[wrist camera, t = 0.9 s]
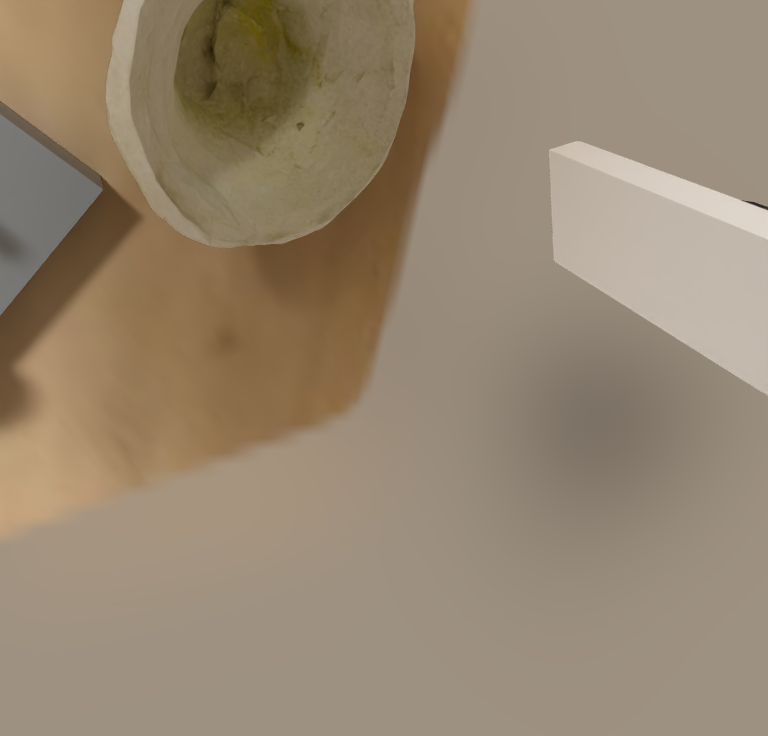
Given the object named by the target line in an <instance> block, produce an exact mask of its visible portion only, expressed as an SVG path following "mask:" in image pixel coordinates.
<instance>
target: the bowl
mask: <svg viewBox="0 0 768 736" xmlns="http://www.w3.org/2000/svg"><path fill="white" fill-rule="evenodd" d="M413 6H414V0H123V5H122V8H121V12H120V15H119V18H118V22H117V25H116V28H115V31H114V34H113V37H112V49H113V52H112V56H111V60H110V64H109V68H108V74H107V81H106V109H107V118H108V126H109V129H110V132H111V135H112V138H113V140H114V142H115V144H116V146H117V148H118V149H119V151H120V153H121V155H122V157H123V159H124V161H125V163H126V165H127V167H128V168H129V170H130V172H131V174H132V175H133V176H134V178H135V179H136V181H137V183H138V185H139V187H140V189H141V191H142V193H143V194H144V196H145V198H146V200H147V202H148V204H149V205H150V207H151V209H152V210H153V211H154V212H155V213H156V214H157V215H158V216H159V217H160V218H162V219H165V220H166V222H167V223H168V224H169V225H170V226H171V227H172V228H173V229H174V230H176V231H177V232H179V233H180V234H182V235H183V236H185V237H187V238H189V239H192V240H194V241H196V242H199V243H201V244H204V245H207V246H210V247H217V248H225V249H227V248H233V247H239V246H245V245H246V246H255V245H266V244H284V243H286V242H289V241H291V240H294V239H297V238H301V237H303V236H305V235H307V234H310V233H312V232H314V231H316V230H320V229H322V228H323V227H324V226H326V225H327V224H328V223H329V222H331V221H332V220H333V219H334V218H335V217H336V216H337V215H338V214H339V213H340V212H341V211H342V210H343V209H344V208H345V207H346V206H347V205H349V204H350V203H351V202H352V201H353V200H354V199H355V198H356V197H357V196H358V195H359V194H360V193H361V192H362V190H363V189H364V188H365V187H366V186H367V185H368V184H369V183H370V182H371V180H372V179H373V178H374V176H375V175H376V174H377V173H378V171H379V170H380V169H381V167H382V165H383V163H384V162H385V160H386V158H387V156H388V153H389V151H390V148H391V146H392V143H393V141H394V139H395V136H396V133H397V129H398V126H399V123H400V120H401V117H402V114H403V111H404V108H405V105H406V102H407V95H408V88H409V79H410V71H411V65H412V60H413V56H414V49H415V41H416V39H415V18H414V11H413Z"/></svg>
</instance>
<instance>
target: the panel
mask: <svg viewBox="0 0 768 736" xmlns="http://www.w3.org/2000/svg"><path fill="white" fill-rule="evenodd" d="M102 191H103V185H102V180H101V176H100V175H99V174H97V173H96V172H95V171H93V170H92V169H91V168H89V167H88V166H87V165H85V164H84V163H83V162H81V161H80V160H79V159H77V158H76V157H75V156H73V155H72V154H71V153H69V152H68V151H67V150H65V149H64V148H62V147H61V146H60V145H58V144H57V143H56V142H54V141H53V140H52V139H50V138H49V137H48V136H46V135H45V134H44V133H42V132H41V131H40V130H38V129H37V128H36V127H34V126H33V125H32V124H30V123H29V122H28V121H26V120H25V119H23V118H22V117H21V116H19V115H18V114H17V113H15V112H14V111H13V110H11V109H10V108H9V107H7V106H6V105H5V104H3V103H2V102H1V101H0V315H1V314H2V313H3V312H4V310H5V309H6V308H7V307H8V306H9V304H10V303H11V302H12V301H13V299H14V298H15V297H16V296H17V295H18V293H19V292H20V291H21V290H22V288H23V287H24V286H25V285H26V284H27V282H28V281H29V280H30V279H31V277H32V276H33V275H34V274H35V273H36V271H37V270H38V269H39V268H40V266H41V265H42V264H43V263H44V262H45V260H46V259H47V258H48V257H49V255H50V254H51V253H52V252H53V251H54V249H55V248H56V247H57V246H58V244H59V243H60V242H61V241H62V240H63V238H64V237H65V236H66V235H67V233H68V232H69V231H70V230H71V229H72V227H73V226H74V225H75V224H76V222H77V221H78V220H79V219H80V218H81V216H82V215H83V214H84V213H85V211H86V210H87V209H88V208H89V207H90V205H91V204H92V203H93V202H94V200H95V199H96V198H97V197H98V196H99V194H100V193H101V192H102Z"/></svg>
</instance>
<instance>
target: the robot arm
mask: <svg viewBox="0 0 768 736" xmlns="http://www.w3.org/2000/svg"><path fill="white" fill-rule="evenodd" d="M549 166H550V188H551V207H552V208H551V211H552V233H553V255H554V262H556V263H558V264H559V265H561V266H563V267H564V268H566V269H567V270H569V271H570V272H572V273H574V274H575V275H577V276H578V277H580V278H581V279H583V280H585V281H586V282H588V283H589V284H591V285H593V286H594V287H596V288H597V289H599V290H601V291H602V292H604V293H605V294H607V295H609V296H610V297H612V298H613V299H615V300H617V301H618V302H620V303H621V304H623V305H624V306H626V307H628V308H629V309H631V310H632V311H634V312H636V313H637V314H639V315H640V316H642V317H644V318H645V319H647V320H648V321H650V322H651V323H653V324H655V325H656V326H658V327H659V328H661V329H663V330H664V331H666V332H667V333H669V334H670V335H672V336H674V337H675V338H677V339H678V340H680V341H682V342H683V343H685V344H686V345H688V346H690V347H691V348H693V349H695V350H696V351H698V352H699V353H701V354H702V355H704V356H705V357H707V358H709V359H710V360H712V361H713V362H715V363H717V364H718V365H720V366H721V367H723V368H725V369H726V370H728V371H729V372H731V373H732V374H734V375H736V376H737V377H739V378H741V379H742V380H744V381H745V382H747V383H749V384H750V385H752V386H753V387H755V388H756V389H758V390H759V391H761V392H763V393H764V394H766V395H767V396H768V207H766V206H763V205H760V204H758V203H755V202H749V201H743V200H738V199H736V198H733V197H730V196H727V195H725V194H722V193H719V192H717V191H714V190H711V189H708V188H706V187H703V186H700V185H697V184H695V183H692V182H689V181H687V180H684V179H681V178H679V177H676V176H673V175H671V174H668V173H665V172H662V171H660V170H657V169H654V168H652V167H649V166H646V165H643V164H641V163H638V162H635V161H632V160H630V159H627V158H624V157H621V156H619V155H616V154H613V153H611V152H608V151H605V150H603V149H600V148H597V147H595V146H592V145H589V144H587V143H584V142H581V141H575V142H572V143H569V144H566V145H562V146H559V147H556V148H553V149H550V150H549Z"/></svg>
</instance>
